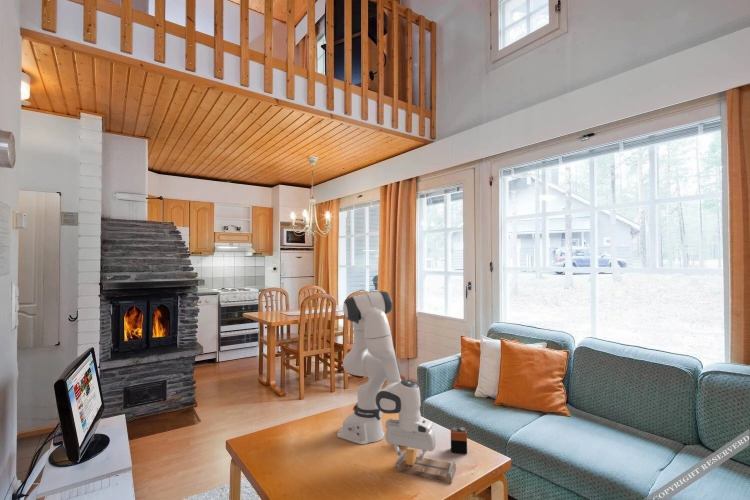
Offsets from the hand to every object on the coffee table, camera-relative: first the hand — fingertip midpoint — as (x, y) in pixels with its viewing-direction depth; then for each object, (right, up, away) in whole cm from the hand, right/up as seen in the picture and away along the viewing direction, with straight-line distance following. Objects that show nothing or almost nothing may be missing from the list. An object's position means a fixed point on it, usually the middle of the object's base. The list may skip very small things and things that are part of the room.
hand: (410, 457), depth 149 cm
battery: (+22, -4, +12) cm, 26 cm away
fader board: (+6, -4, -2) cm, 7 cm away
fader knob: (0, -2, 0) cm, 2 cm away
